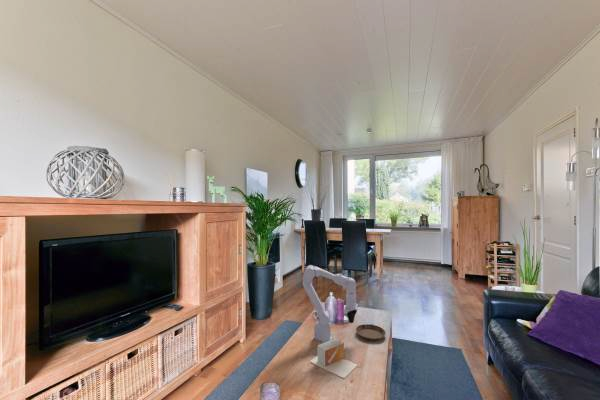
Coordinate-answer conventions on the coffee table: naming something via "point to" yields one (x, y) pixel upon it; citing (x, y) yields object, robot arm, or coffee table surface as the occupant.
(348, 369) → the mat
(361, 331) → the plant saucer
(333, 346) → the small box
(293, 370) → the coffee table surface
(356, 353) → the coffee table surface
